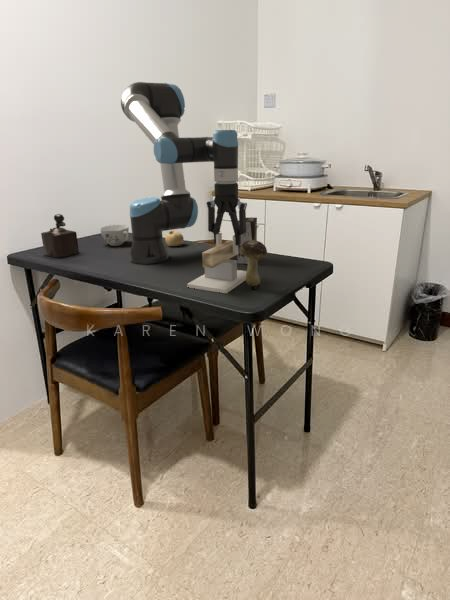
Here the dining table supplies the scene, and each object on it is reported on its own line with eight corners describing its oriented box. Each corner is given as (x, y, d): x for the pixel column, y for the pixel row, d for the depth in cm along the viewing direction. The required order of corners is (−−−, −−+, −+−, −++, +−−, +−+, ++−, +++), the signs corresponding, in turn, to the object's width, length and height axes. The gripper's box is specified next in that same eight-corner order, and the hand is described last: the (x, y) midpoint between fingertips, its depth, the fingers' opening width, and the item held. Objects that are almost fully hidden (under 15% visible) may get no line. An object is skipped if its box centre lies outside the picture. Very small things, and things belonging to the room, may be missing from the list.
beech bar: (202, 266, 130) (202, 252, 128) (228, 253, 145) (228, 240, 143) (212, 268, 129) (212, 253, 127) (237, 254, 144) (237, 241, 142)
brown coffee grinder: (42, 255, 175) (34, 212, 169) (65, 249, 184) (59, 208, 177) (63, 260, 167) (56, 215, 160) (87, 254, 175) (81, 211, 168)
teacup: (96, 245, 190) (94, 228, 187) (118, 240, 199) (116, 223, 196) (117, 249, 181) (115, 231, 179) (139, 244, 191) (137, 226, 188)
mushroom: (243, 282, 138) (243, 237, 132) (269, 284, 135) (270, 238, 130) (236, 292, 129) (235, 244, 124) (263, 294, 127) (264, 246, 121)
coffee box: (254, 264, 157) (254, 221, 151) (237, 263, 158) (236, 221, 152) (257, 258, 165) (257, 217, 159) (241, 257, 166) (241, 216, 161)
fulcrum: (187, 287, 134) (186, 265, 131) (216, 270, 151) (216, 251, 148) (226, 293, 128) (225, 271, 125) (252, 275, 145) (252, 255, 142)
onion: (171, 243, 192) (170, 227, 189) (186, 244, 189) (186, 228, 187) (162, 247, 185) (161, 231, 182) (179, 248, 182) (178, 232, 180)
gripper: (195, 182, 133) (198, 253, 141) (248, 184, 125) (247, 259, 133) (206, 180, 139) (208, 248, 148) (257, 182, 131) (257, 253, 140)
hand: (227, 253), depth 140 cm, fingers open, 5 cm apart
